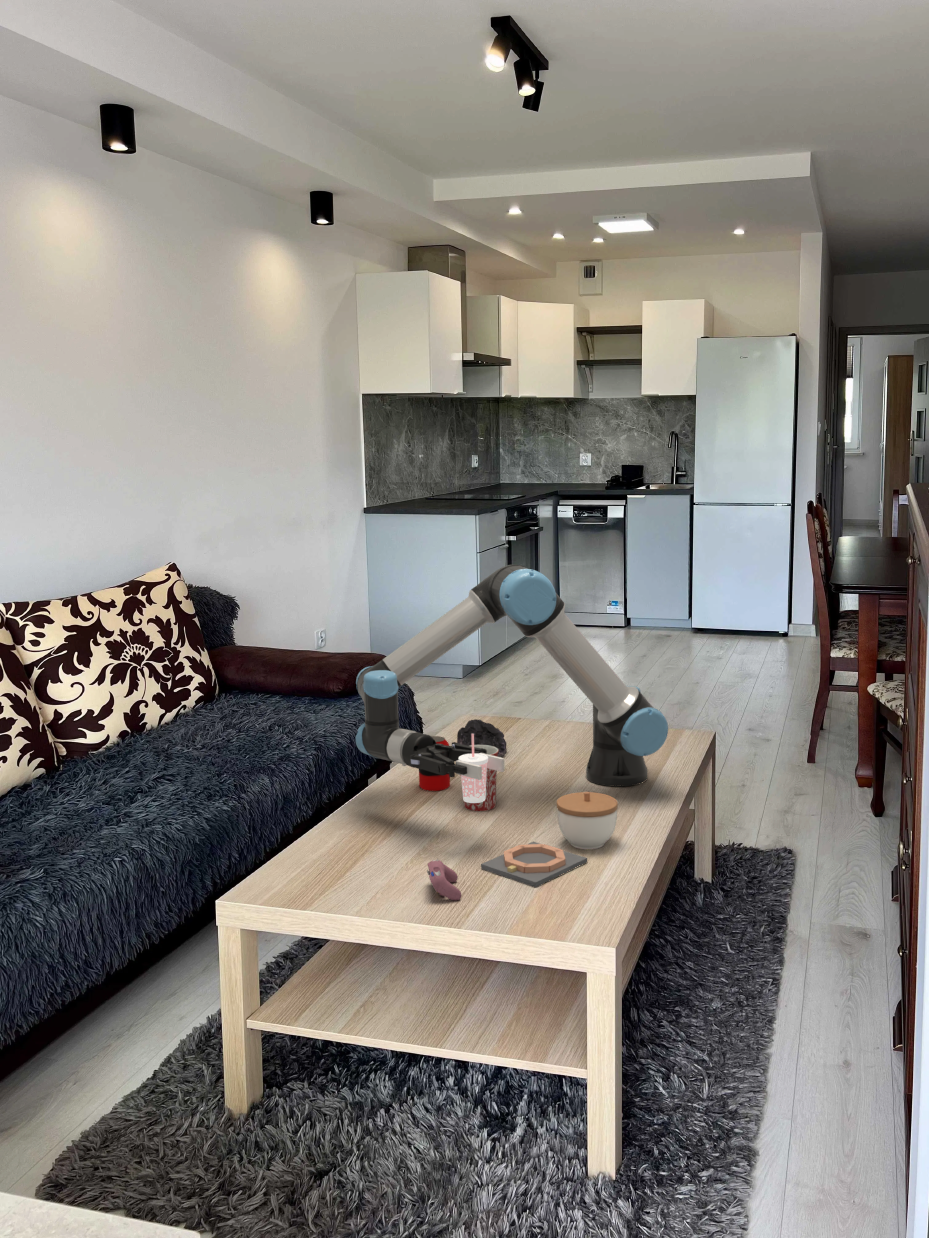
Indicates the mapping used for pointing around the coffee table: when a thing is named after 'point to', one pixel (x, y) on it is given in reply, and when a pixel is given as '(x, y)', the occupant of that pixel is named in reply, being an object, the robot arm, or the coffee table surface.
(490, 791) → the mug
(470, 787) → the beverage cup
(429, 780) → the soda can
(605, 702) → the robot arm
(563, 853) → the ring board
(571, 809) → the lidded bowl
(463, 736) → the black rock
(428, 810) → the coffee table surface
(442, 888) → the video game controller
